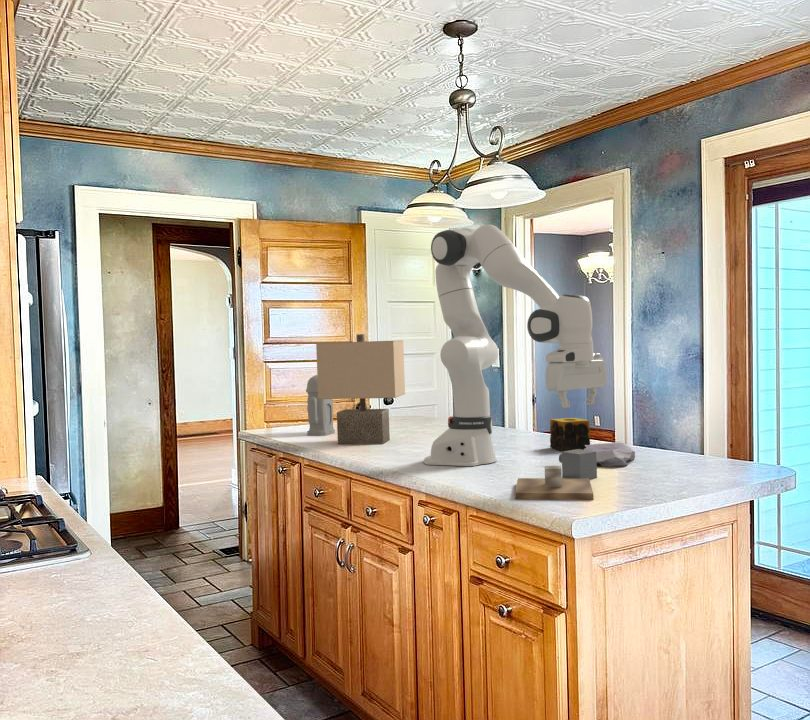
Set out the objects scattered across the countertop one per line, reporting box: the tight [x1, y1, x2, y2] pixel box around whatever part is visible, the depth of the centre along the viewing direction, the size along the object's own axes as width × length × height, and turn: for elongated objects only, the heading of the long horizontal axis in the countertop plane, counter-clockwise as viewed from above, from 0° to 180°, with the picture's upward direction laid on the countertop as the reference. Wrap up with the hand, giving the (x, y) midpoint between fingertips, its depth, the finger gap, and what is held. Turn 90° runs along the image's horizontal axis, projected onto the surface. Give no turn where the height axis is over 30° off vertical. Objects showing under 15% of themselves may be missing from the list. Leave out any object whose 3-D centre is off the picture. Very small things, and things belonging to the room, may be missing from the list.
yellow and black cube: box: [549, 417, 591, 452], centre depth 249 cm, size 10×10×10 cm
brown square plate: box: [514, 465, 595, 501], centre depth 182 cm, size 18×18×6 cm
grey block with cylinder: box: [558, 449, 598, 480], centre depth 200 cm, size 6×9×7 cm
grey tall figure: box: [305, 374, 336, 437], centre depth 311 cm, size 15×10×25 cm
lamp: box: [315, 333, 406, 445], centre depth 281 cm, size 29×18×41 cm, turn 79°
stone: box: [584, 442, 636, 467], centre depth 222 cm, size 20×15×5 cm
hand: (578, 406), depth 198 cm, fingers open, 8 cm apart
